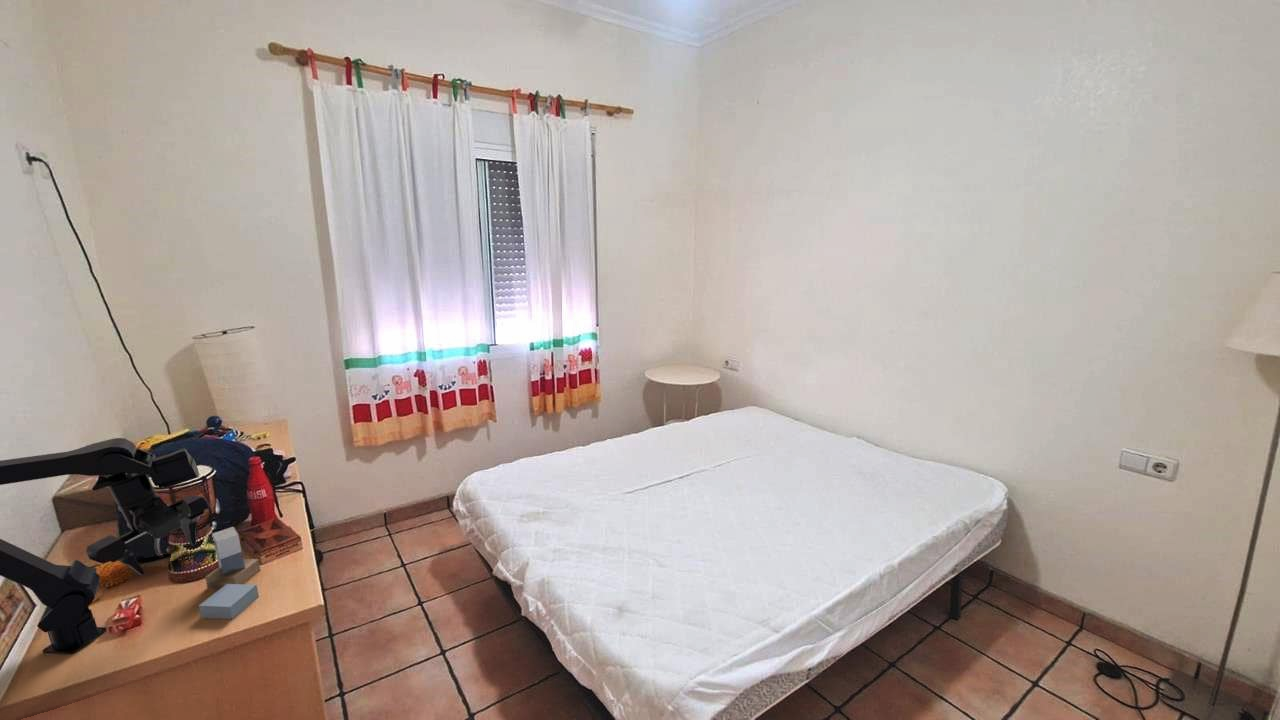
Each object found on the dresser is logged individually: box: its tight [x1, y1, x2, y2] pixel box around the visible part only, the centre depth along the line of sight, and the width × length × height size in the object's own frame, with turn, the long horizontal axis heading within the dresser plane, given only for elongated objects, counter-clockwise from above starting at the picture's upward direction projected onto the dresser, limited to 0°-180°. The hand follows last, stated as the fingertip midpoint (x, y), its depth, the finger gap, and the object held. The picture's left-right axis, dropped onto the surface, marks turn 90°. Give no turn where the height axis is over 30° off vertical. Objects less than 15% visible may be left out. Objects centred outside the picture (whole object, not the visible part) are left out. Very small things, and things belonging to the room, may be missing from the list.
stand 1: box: [204, 558, 261, 590], centre depth 119 cm, size 7×7×3 cm
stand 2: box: [198, 583, 260, 620], centre depth 110 cm, size 7×7×3 cm
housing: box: [212, 526, 245, 576], centre depth 118 cm, size 4×5×9 cm
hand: (168, 559), depth 108 cm, fingers open, 9 cm apart
